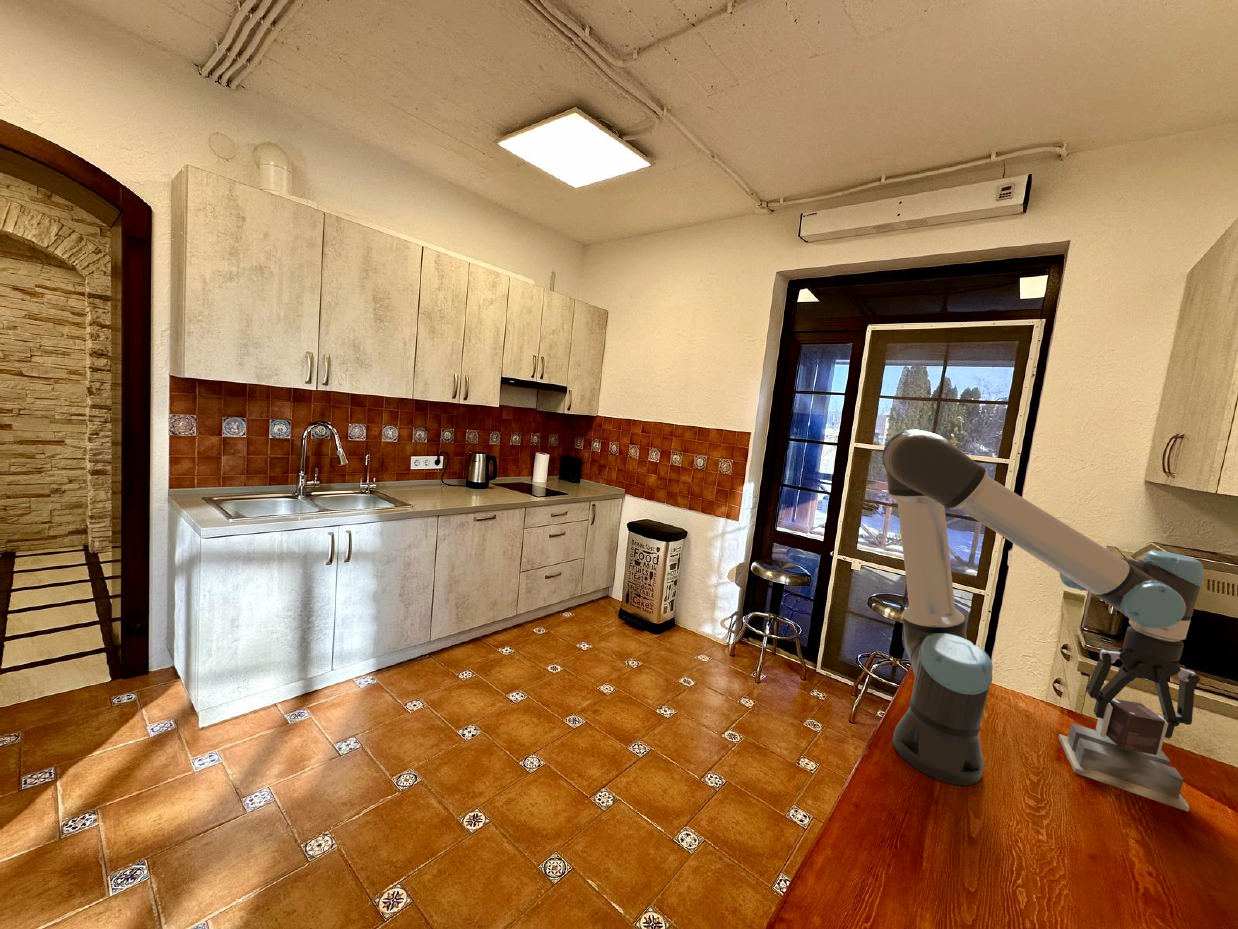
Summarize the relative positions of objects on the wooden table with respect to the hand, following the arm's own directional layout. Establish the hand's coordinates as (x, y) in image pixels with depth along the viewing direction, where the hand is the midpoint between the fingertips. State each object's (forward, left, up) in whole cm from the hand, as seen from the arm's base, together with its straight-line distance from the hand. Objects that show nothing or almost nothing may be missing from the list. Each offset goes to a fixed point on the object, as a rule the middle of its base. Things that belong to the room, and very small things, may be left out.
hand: (1126, 741), depth 99 cm
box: (0, 0, 0) cm, 0 cm away
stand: (0, 0, -7) cm, 7 cm away
